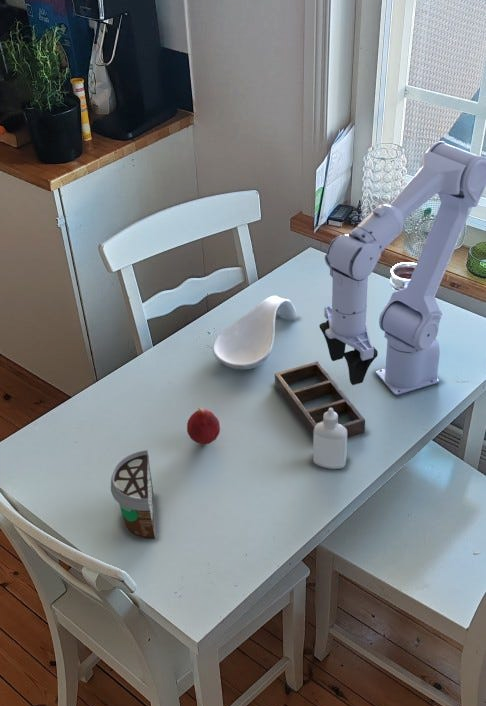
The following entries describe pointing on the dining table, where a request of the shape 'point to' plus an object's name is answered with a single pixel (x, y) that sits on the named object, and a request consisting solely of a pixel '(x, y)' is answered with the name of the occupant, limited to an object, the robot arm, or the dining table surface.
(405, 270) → the white round hollow piece
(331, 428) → the eye dropper bottle
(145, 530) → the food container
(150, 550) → the dining table surface
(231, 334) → the spoon rest
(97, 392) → the dining table surface
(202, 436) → the onion
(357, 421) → the spice rack
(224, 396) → the dining table surface
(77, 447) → the dining table surface
